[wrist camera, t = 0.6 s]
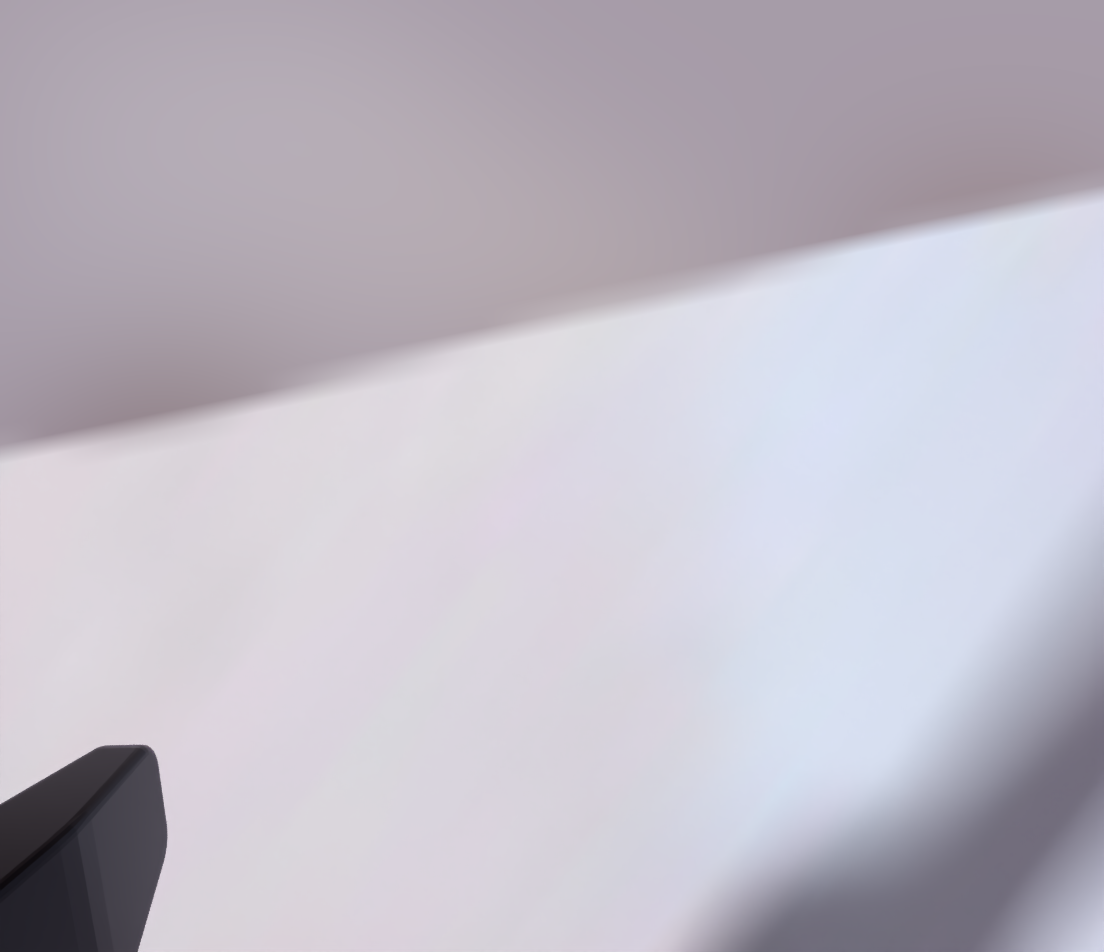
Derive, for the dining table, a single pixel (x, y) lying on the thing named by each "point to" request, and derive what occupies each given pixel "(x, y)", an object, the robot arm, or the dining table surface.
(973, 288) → the dining table surface
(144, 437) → the dining table surface
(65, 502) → the dining table surface
